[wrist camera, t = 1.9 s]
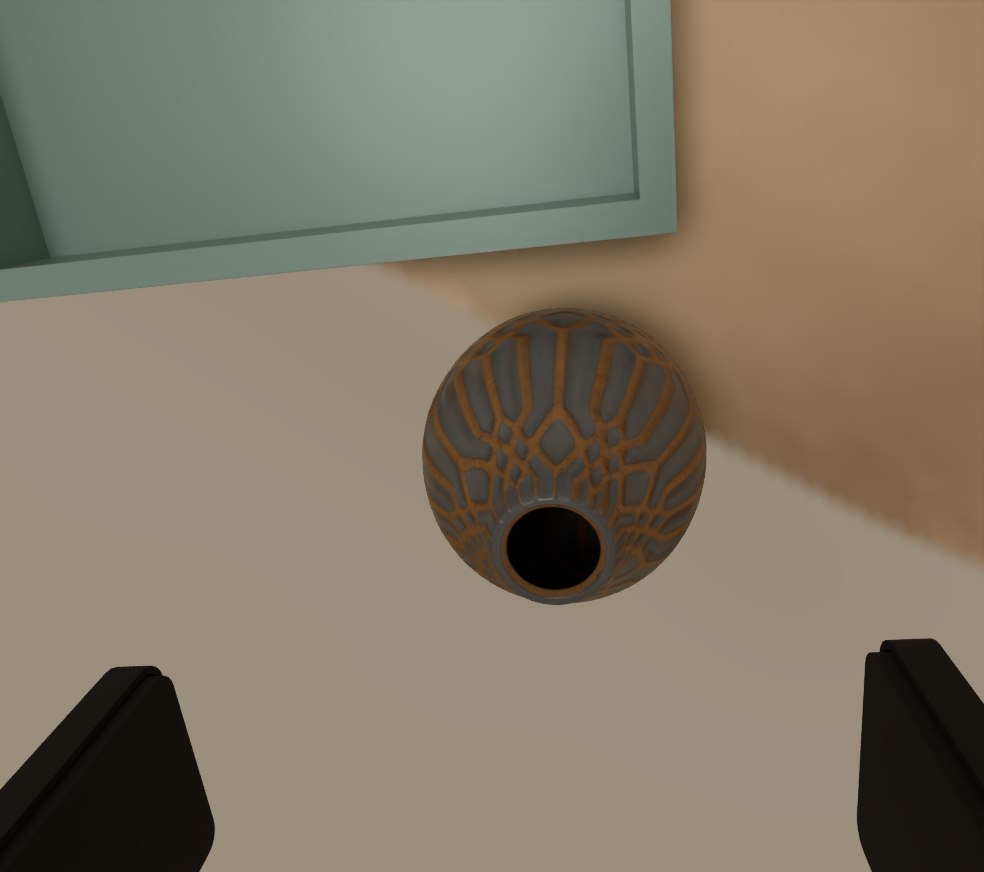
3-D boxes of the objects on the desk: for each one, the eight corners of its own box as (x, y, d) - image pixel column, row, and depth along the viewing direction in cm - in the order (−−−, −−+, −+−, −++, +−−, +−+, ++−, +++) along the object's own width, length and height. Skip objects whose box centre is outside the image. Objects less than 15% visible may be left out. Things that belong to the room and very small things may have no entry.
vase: (727, 451, 23) (804, 625, 15) (522, 545, 25) (488, 745, 16) (618, 240, 21) (635, 304, 13) (406, 359, 23) (304, 480, 15)
